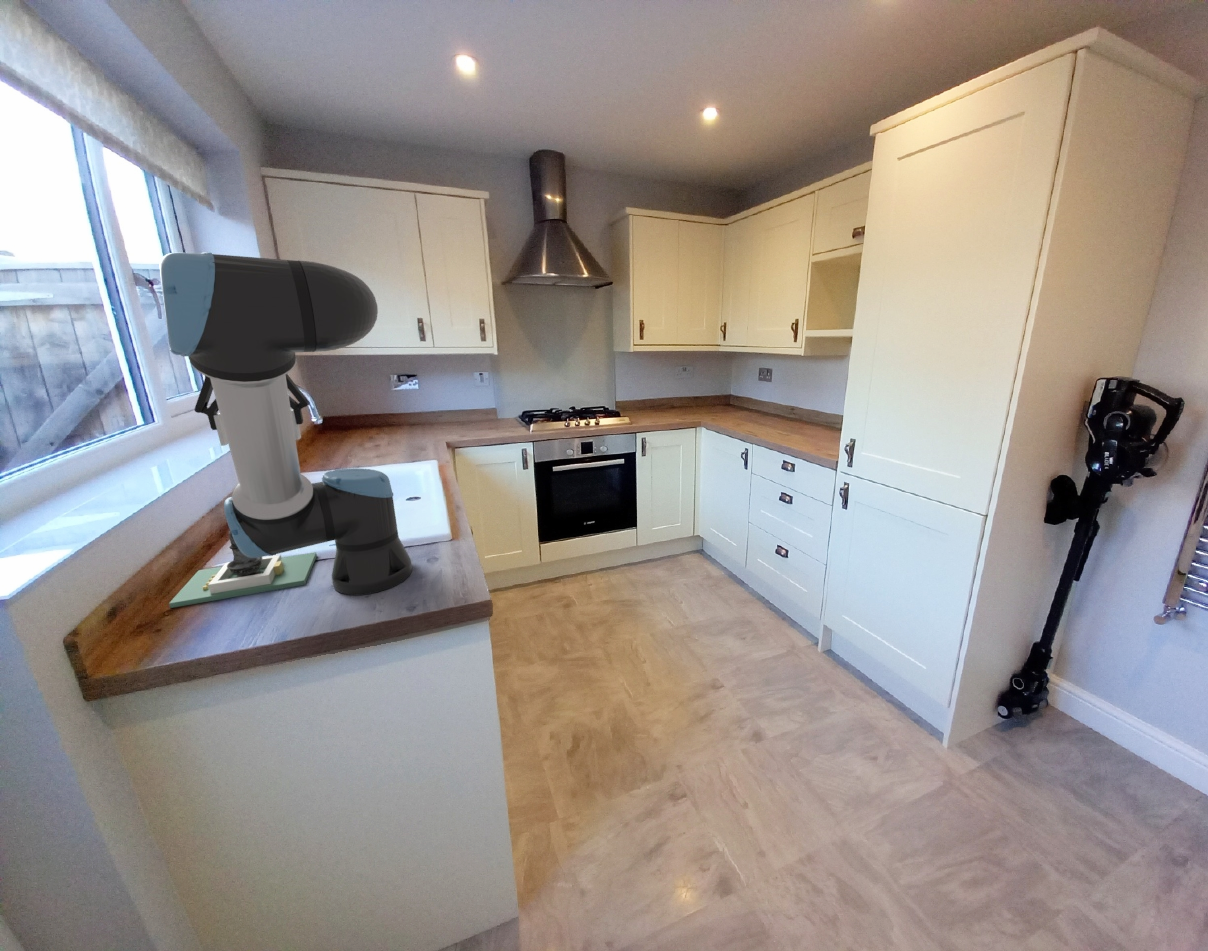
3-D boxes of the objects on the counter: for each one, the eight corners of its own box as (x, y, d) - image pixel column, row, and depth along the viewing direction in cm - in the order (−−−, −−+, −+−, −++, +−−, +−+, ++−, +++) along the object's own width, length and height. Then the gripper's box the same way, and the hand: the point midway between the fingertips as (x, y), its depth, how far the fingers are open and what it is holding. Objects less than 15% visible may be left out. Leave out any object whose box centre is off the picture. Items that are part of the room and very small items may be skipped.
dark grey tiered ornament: (272, 570, 99) (260, 518, 96) (253, 584, 94) (239, 529, 90) (244, 570, 99) (231, 518, 96) (223, 584, 93) (208, 530, 90)
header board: (316, 556, 108) (314, 544, 107) (305, 584, 95) (302, 571, 94) (199, 574, 100) (196, 561, 99) (170, 608, 87) (165, 594, 86)
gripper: (312, 341, 104) (329, 433, 110) (172, 342, 95) (199, 443, 101) (305, 341, 98) (324, 439, 104) (155, 343, 89) (185, 450, 95)
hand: (262, 441), depth 103 cm, fingers open, 13 cm apart
